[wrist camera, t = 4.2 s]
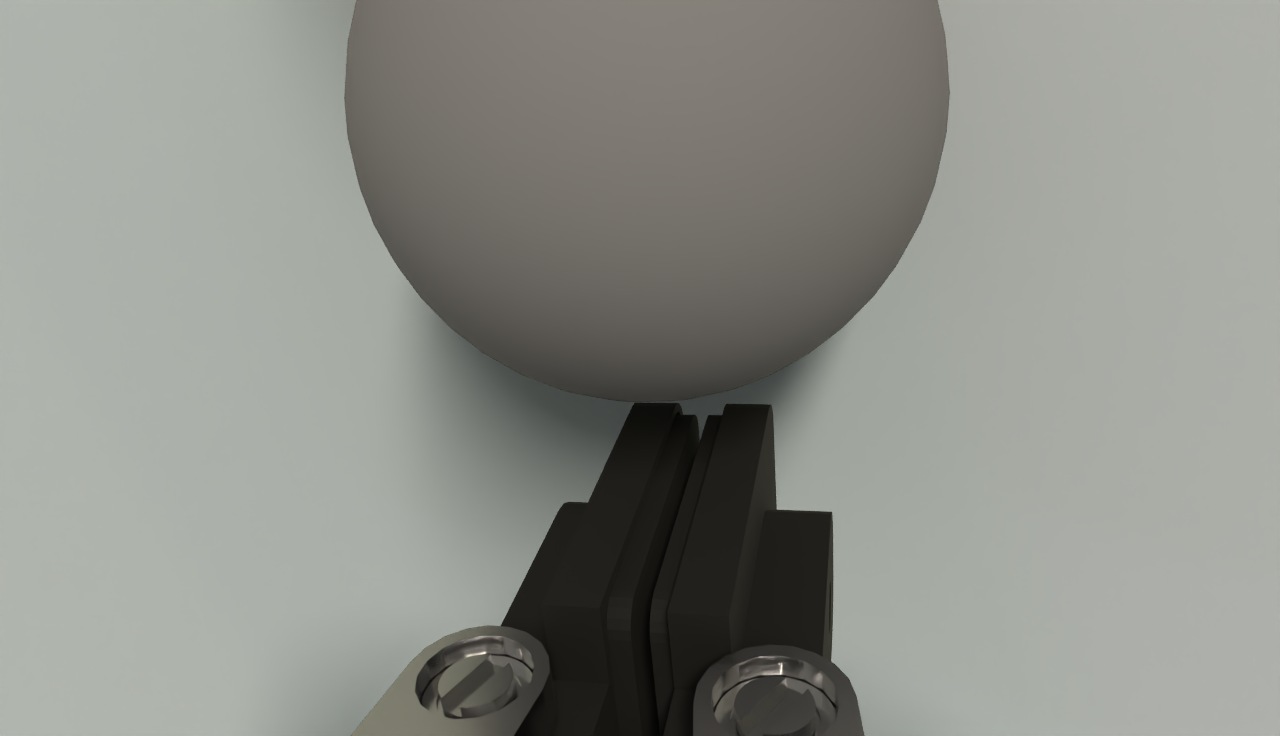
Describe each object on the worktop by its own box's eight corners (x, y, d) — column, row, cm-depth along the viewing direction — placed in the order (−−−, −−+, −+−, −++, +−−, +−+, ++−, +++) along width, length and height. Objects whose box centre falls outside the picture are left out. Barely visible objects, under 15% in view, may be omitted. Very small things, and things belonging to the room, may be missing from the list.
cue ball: (156, 311, 7) (270, -376, 8) (438, 427, 12) (481, 13, 13) (1016, 337, 6) (1010, -438, 7) (906, 449, 11) (912, 4, 12)
